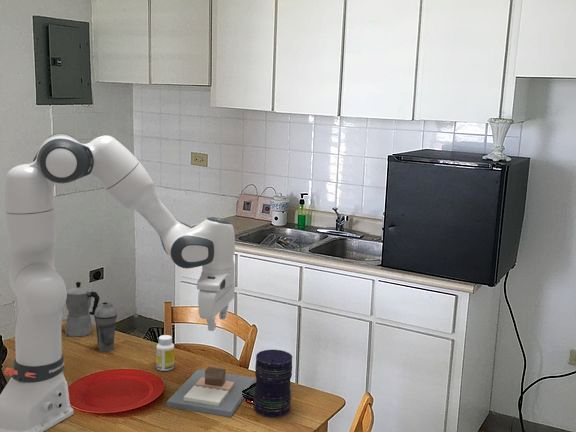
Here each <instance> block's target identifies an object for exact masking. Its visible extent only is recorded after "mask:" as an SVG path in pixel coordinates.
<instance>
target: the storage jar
mask: <svg viewBox="0 0 576 432" xmlns="http://www.w3.org/2000/svg"><path fill="white" fill-rule="evenodd" d="M254 375H255V388H254V394H253V395H254V396H253V401H254V402H253V403H254V407H253V410H254V412H255V413H256V414H258V415H259V416H261V417H266V418H272V419H273V418H275V419H276V418H281V417H284V416H286V415H288V414H289V413H290V412H291V401H292V400H291V399H292V397H291V395H292V393H291V379H292V377H293V376H292V375H293V355H292V354H291V353H290V352H287V351H286V350H280V349H266V350H265V349H264V350H261V351H259V352H257V354H256V355H255V372H254Z"/></svg>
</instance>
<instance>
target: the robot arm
mask: <svg viewBox="0 0 576 432" xmlns="http://www.w3.org/2000/svg"><path fill="white" fill-rule="evenodd" d="M32 161H33V162H29V163H23V164H19V165H15V166H14V167H13V168H11V169H9V170H8V172H7V174H6V177H5V184H4V185H5V187H4V206H5V207H4V208H5V209H4V210H5V218H6V227H7V228H6V229H7V236H8V238H7V239H8V276H9V286H10V288H11V290H12V291H13V292H12V293H14V295H15V297H16V301H17V318H16V323H15V324H16V326H15V328H14V339H15V340H14V343H15V344H14V345H15V359H14V360H13V364H12V368H11V367H5V369H4V371H3V375H5V376H6V377H9V376H10V379H9V381H8V382H7V383H6V385H5V386H4V388H3V390H2V391H1V393H0V432H45V431H47V430H49V429H50V428H52V427H54V426H56V425H57V424H59V423H61V422H62V421H64V420H66V419H68V418H70V417H71V416H72V415H74V413H75V412H74V411H75V410H74V408H73V407H71V402H70V394H69V386H68V382H67V380H66V377H65V373H64V369H65V358H64V357H65V356H64V354H63V353H62V351H63V349H62V348H63V347H62V342H63V341H62V340H63V338H62V326H63V325H62V324H63V317H64V312H65V307H66V298H67V290H66V288H67V285H66V283H65V280H64V279H63V277H62V276H61V275H60V273H59V272H57V269H56V266H55V249H56V242H57V238H58V237H57V228H56V217H55V206H54V188H55V186H56V184H69V183H71V182H74V181H77V180H79V179H81V178H84V177H86V176H91V177H93V178H94V179H95V180H96V181H97V182H98V183H99V184H100V185H101V187H102V188H103V189H104V190H105V191H106V192H107V193H108V195H110V196H111V198H113V199H114V200H115V201H116V202H118V203H119V204H120V205H121V206H122V207H124V208H127V209H130V210H134V211H135V212H137V213H139V214H140V215H141V216H142V218H144V219H145V221H147V223H148V224H149V225H150V226H151V227H152V228H153V229H154V230H155V232H156V233H157V234H158V237H160V242H161V245H162V248H163V250H164V251H165V253H166V255H168V256H169V258H170V259H171V260H172V262H173V263H174V264H175V265H176V266H178V267H180V268H182V269H193V268H199V267H202V269H201V272H200V277H199V278H198V280H197V282H196V289H197V290H199V291H198V296H197V299H198V300H197V301H198V302H197V303H198V314H199V315H198V316H199V318H200V319H202V320H203V319H204V320H206V323H207V331H209V332H214V331H215V330H216V328H217V327H216V325H217V323H216V321H215V320H216V316H217V315H218V314H219V315H218V317H219V318H218V319H220V320H223V321H224V320H226V319H227V318H228V317H227V316H228V310H229V304H230V303H231V302H232V301H233V300H234V298H235V270H236V269H235V266H236V265H235V262H234V256H235V251H236V237H235V236H236V235H235V229H234V225H233V224H232V223H231V222H230V221H229V220H227V219H225V218H220V217H215V216H213V217H212V216H211V217H206V218H205V219H204V220H203V221H201V222H200V223H199V224H197V225H195V226H194V227H192V226H190V225H189V224H187V223H184V222H182V221H180V220H178V219H177V218H176V217H175V216H174V215H173V214H172V212H170V210H168V208H167V207H166V206H165V205H164V203H163V202H162V201H161V200H160V199H159V197H158V195H157V192H156V190H155V183H154V181H153V180H152V177H151V176H150V174H149V173H148V171H147V170H146V169H145V167H144V166H143V164H142V163H141V162H140V161H139V159H138V158H136V156H134V154H133V153H132V152H131V151H130V150H129V149H128V148H127V147H125V146H124V144H122V143H121V142H120V141H118V140H117V139H116V138H115V137H113V136H111V135H108V134H107V135H105V134H103V135H101V136H98V137H95V138H93V139H92V140H91V141H89V142H88V143H81V142H79V141H78V139H77V138H75V137H74V136H73V135H70V134H66V133H54V134H51V135H49V136H48V137H46V138H45V139H44V140H43V142H42V143H41V144H40V145H39V148H38V150H37V152H36V154H35V156H34V158H33V160H32Z"/></svg>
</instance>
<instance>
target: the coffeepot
mask: <svg viewBox="0 0 576 432" xmlns="http://www.w3.org/2000/svg"><path fill="white" fill-rule="evenodd" d="M81 283H82V282H81V281H76V282H75V285H76V286H73V287H71V286H70V287H66V290H67V298H66V302H65V307H66V310H67V311H68V314H67V317H66V323H65V329H64V334H65V335H67V336H68V337H71V338H72V337H74V338H78V337H86V336H89V335H90V334H92V332H93V331H94V330H93V329H94V328H93V324H92V318H91V315H92V316H94V313H95V310H96V308H97V306H98V305H99V302H100V296H99V294H98V292H96V291H94V290H93V289H92V288H91V287H88V286H82V285H81ZM92 298H94V301H93V305H92ZM91 305H92V310H91V311H90V308H91Z"/></svg>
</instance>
